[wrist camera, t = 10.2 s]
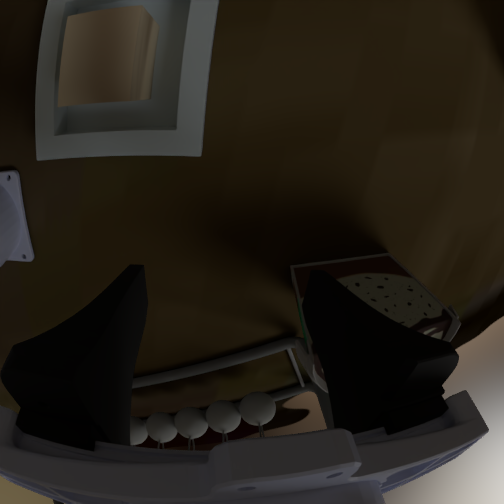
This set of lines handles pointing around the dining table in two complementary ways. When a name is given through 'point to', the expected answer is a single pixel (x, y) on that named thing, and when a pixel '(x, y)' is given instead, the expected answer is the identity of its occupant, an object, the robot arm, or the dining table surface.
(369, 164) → the dining table surface
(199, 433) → the newton's cradle
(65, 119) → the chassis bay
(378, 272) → the food container
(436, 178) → the dining table surface
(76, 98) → the beige cardboard-like cube
